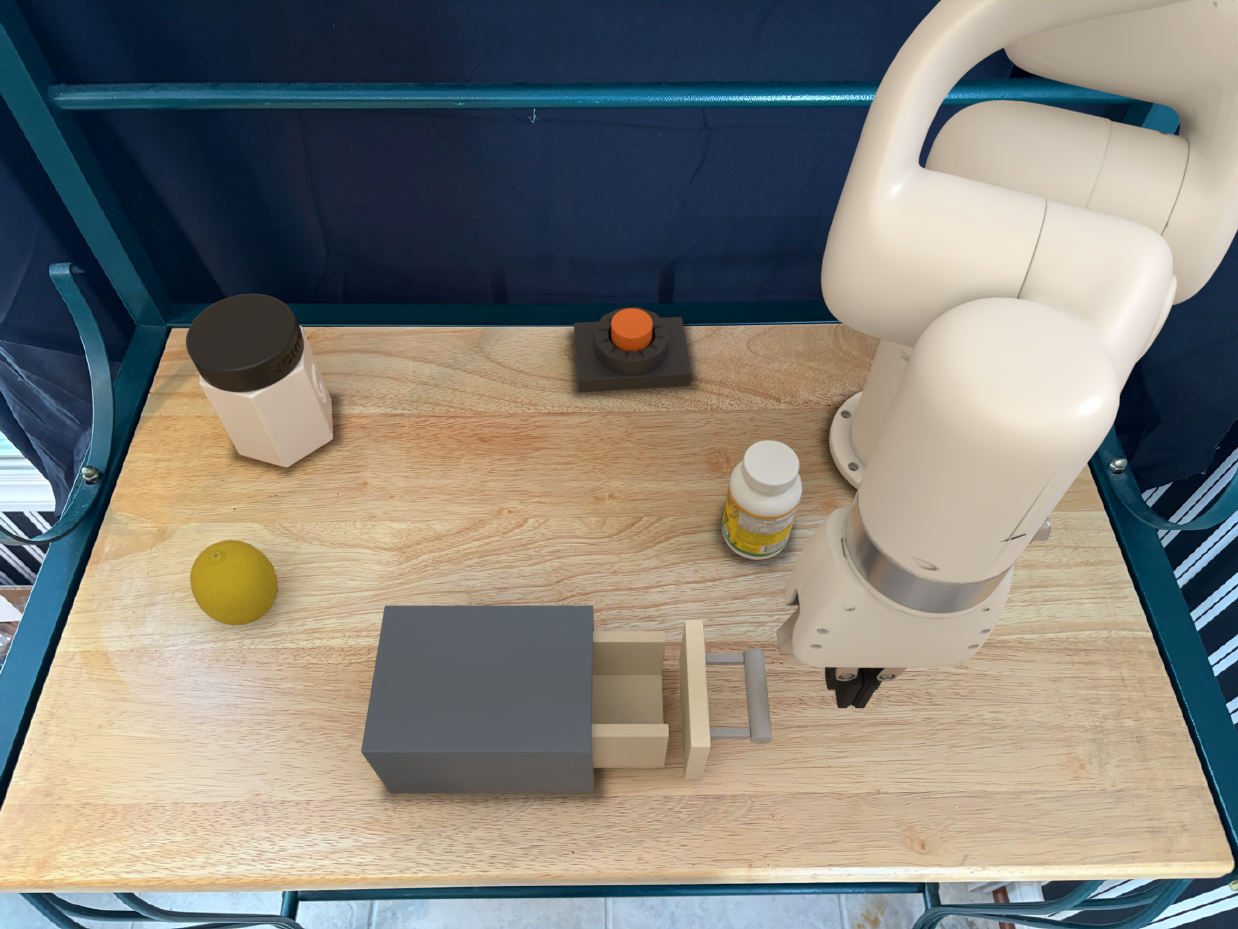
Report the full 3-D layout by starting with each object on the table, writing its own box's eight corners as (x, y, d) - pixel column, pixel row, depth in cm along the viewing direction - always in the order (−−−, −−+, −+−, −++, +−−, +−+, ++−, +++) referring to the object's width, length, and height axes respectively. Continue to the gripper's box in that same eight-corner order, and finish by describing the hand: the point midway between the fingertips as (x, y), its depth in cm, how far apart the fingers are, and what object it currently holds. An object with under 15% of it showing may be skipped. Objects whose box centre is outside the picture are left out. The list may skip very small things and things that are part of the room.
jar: (337, 460, 76) (297, 365, 67) (237, 477, 75) (181, 383, 65) (333, 381, 81) (295, 281, 72) (239, 396, 80) (187, 297, 71)
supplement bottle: (777, 571, 70) (797, 503, 63) (711, 548, 72) (723, 479, 64) (795, 516, 73) (817, 445, 66) (732, 495, 74) (746, 423, 67)
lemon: (272, 648, 67) (235, 598, 60) (202, 634, 67) (157, 583, 61) (302, 583, 70) (270, 528, 63) (235, 570, 70) (196, 514, 64)
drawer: (753, 661, 65) (766, 619, 60) (765, 780, 60) (780, 746, 55) (521, 661, 65) (512, 619, 60) (513, 780, 60) (503, 747, 55)
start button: (649, 320, 82) (650, 306, 80) (653, 350, 80) (654, 336, 78) (609, 323, 81) (609, 309, 80) (612, 352, 79) (612, 339, 78)
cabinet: (595, 658, 66) (593, 605, 59) (593, 793, 61) (591, 752, 54) (408, 658, 66) (384, 605, 59) (389, 793, 61) (360, 752, 54)
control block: (680, 329, 85) (683, 302, 82) (690, 386, 81) (693, 359, 78) (574, 335, 85) (572, 308, 82) (578, 393, 81) (577, 366, 78)
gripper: (1065, 467, 45) (951, 631, 60) (762, 466, 45) (723, 631, 59) (1114, 605, 40) (978, 744, 55) (778, 604, 40) (732, 744, 55)
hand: (846, 685), depth 57 cm, fingers closed
